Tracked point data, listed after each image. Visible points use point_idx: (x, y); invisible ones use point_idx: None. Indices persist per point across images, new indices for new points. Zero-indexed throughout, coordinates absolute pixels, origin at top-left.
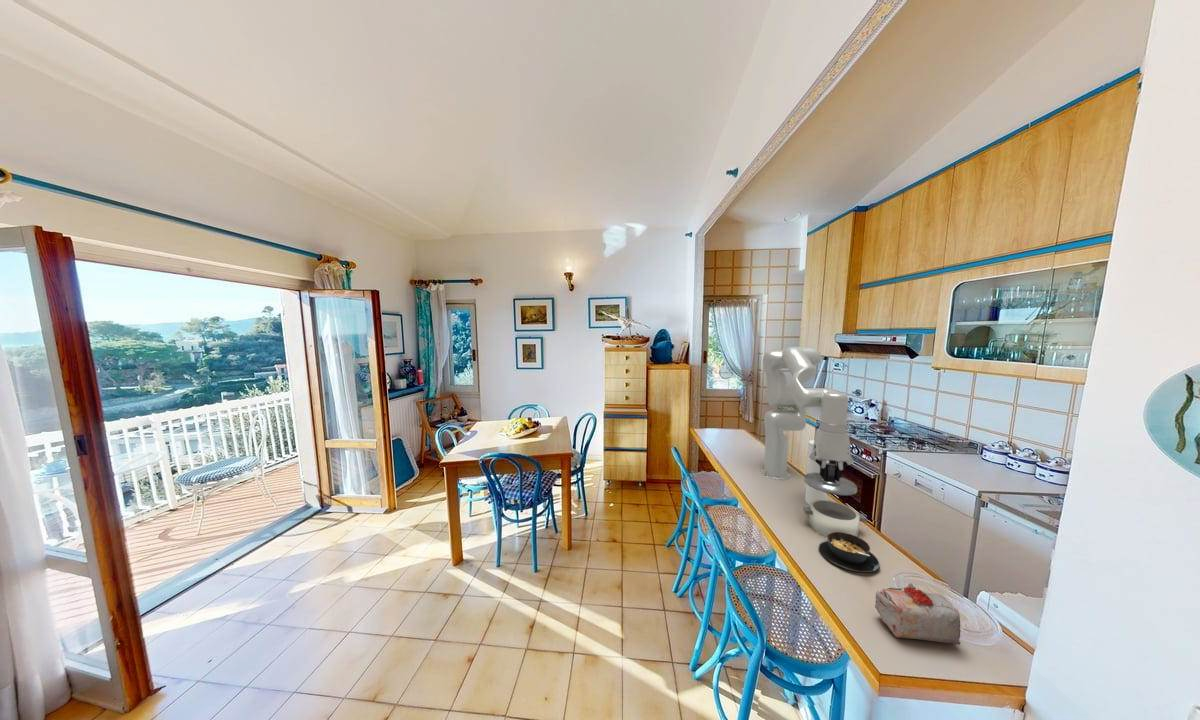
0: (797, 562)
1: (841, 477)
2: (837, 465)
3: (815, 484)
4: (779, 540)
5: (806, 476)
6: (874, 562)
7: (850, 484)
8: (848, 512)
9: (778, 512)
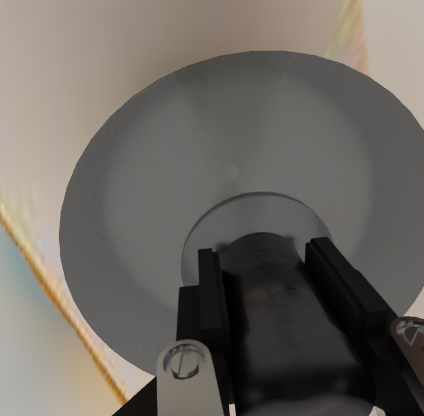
0: (107, 366)
1: (405, 117)
2: (401, 382)
3: (136, 348)
4: (59, 301)
5: (77, 226)
6: None
7: (401, 257)
8: None
9: (37, 112)
